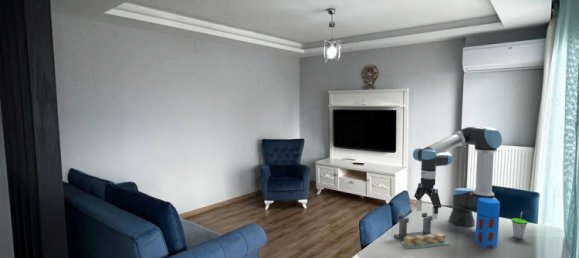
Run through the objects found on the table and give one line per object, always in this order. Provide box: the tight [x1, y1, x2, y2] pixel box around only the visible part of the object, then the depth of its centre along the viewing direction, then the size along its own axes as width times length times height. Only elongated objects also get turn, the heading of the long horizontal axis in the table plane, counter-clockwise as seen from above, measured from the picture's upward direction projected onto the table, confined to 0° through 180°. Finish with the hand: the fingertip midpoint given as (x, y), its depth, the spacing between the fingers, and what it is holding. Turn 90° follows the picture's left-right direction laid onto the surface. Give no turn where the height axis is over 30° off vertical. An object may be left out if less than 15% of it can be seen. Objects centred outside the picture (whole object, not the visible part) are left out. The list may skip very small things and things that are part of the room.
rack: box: [393, 212, 434, 242], centre depth 189 cm, size 23×7×13 cm, turn 103°
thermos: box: [475, 198, 501, 248], centre depth 181 cm, size 11×11×25 cm
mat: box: [400, 240, 450, 250], centre depth 180 cm, size 26×7×1 cm, turn 103°
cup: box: [511, 211, 528, 240], centre depth 190 cm, size 8×8×15 cm
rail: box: [403, 232, 446, 246], centre depth 180 cm, size 24×4×4 cm, turn 103°
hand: (426, 214), depth 179 cm, fingers open, 13 cm apart
